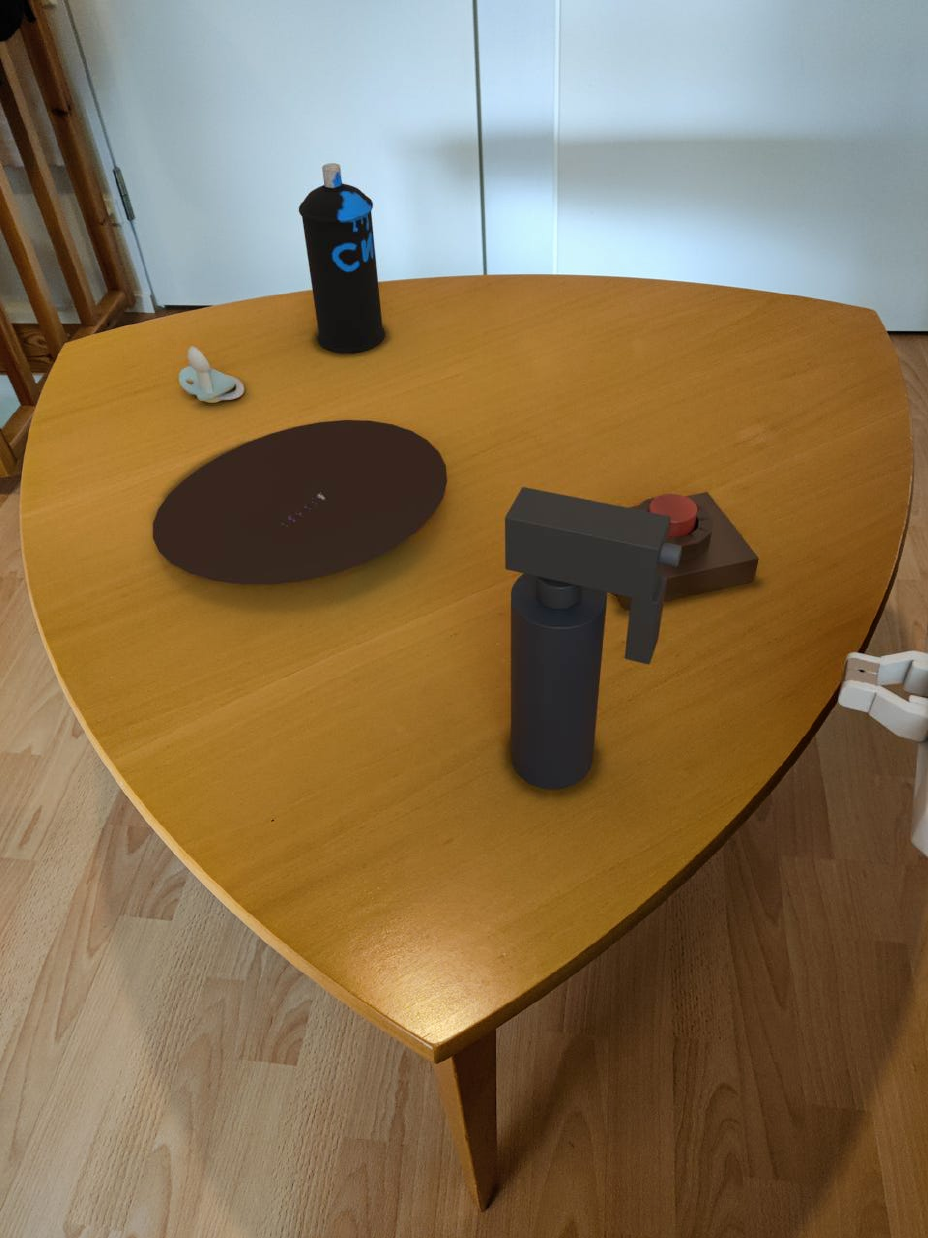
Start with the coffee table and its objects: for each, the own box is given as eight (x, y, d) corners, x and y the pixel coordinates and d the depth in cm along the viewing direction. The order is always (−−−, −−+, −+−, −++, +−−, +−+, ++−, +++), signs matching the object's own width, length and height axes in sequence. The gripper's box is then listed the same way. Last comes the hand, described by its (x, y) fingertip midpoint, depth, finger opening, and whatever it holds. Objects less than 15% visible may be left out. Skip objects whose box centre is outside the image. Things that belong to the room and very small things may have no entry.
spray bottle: (655, 751, 73) (693, 504, 58) (635, 815, 69) (670, 568, 54) (525, 716, 76) (529, 473, 60) (499, 776, 72) (496, 531, 56)
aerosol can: (303, 342, 120) (276, 171, 106) (347, 315, 125) (326, 147, 111) (356, 360, 117) (335, 185, 103) (399, 331, 121) (384, 160, 108)
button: (682, 506, 88) (685, 489, 86) (702, 533, 85) (705, 516, 84) (640, 514, 87) (642, 498, 86) (658, 542, 84) (661, 525, 83)
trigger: (658, 639, 63) (667, 577, 60) (649, 665, 62) (658, 603, 58) (633, 633, 64) (641, 572, 60) (624, 659, 62) (631, 597, 58)
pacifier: (220, 373, 116) (175, 391, 113) (210, 322, 111) (164, 340, 108) (257, 396, 112) (211, 415, 109) (248, 344, 108) (201, 363, 104)
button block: (703, 514, 93) (710, 475, 90) (754, 582, 86) (763, 541, 83) (582, 539, 91) (585, 499, 88) (624, 610, 84) (628, 570, 81)
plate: (294, 405, 110) (289, 375, 107) (505, 487, 97) (505, 455, 95) (92, 538, 94) (80, 507, 91) (314, 657, 81) (308, 625, 79)
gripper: (1093, 932, 50) (807, 851, 54) (1074, 655, 63) (848, 606, 67) (1149, 862, 45) (834, 779, 49) (1116, 580, 59) (871, 533, 63)
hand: (842, 677), depth 58 cm, fingers closed
